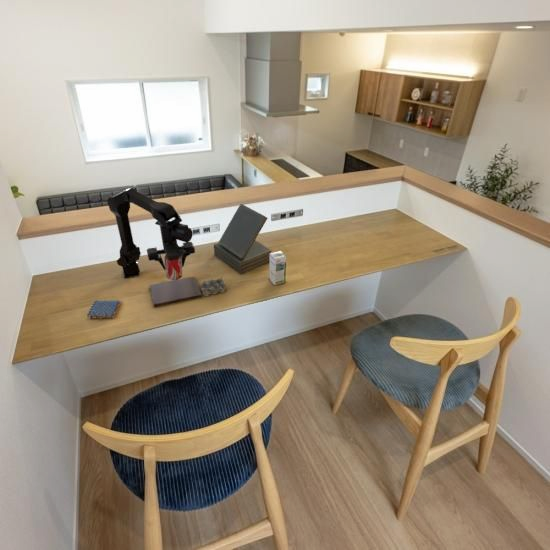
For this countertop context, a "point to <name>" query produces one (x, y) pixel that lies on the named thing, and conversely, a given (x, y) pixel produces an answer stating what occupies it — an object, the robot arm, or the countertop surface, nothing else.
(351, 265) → the countertop surface
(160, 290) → the cutting board
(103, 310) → the woven mat
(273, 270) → the milk carton
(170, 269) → the soda can
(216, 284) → the grey lumpy block
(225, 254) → the dark grey display stand
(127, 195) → the robot arm
